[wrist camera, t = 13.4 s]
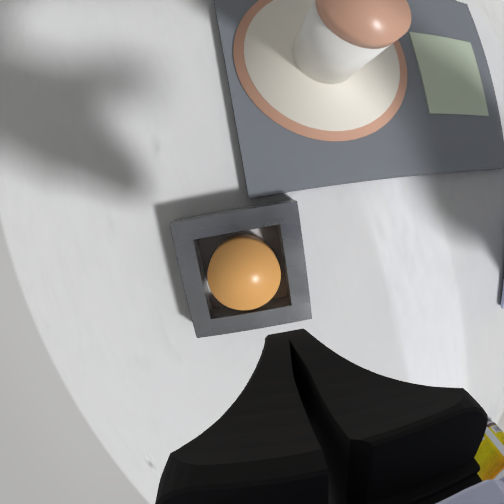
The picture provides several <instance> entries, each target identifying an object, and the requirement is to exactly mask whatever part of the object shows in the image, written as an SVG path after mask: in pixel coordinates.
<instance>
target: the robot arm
mask: <svg viewBox="0 0 504 504" xmlns="http://www.w3.org/2000/svg"><path fill="white" fill-rule="evenodd" d="M501 308H503V309H504V281H503V291H502V299H501ZM487 423H488V419H487V414H486V412H485V411H484V410H483V408H482V407H481V406H480V405H479V404H478V403H477V402H476V400H475V399H474V398H473V397H472V396H471V395H470V394H469V393H468V392H467V391H466V390H464V389H463V388H445V387H431V386H424V385H418V384H412V383H407V382H403V381H399V380H395V379H392V378H389V377H385V376H382V375H379V374H376V373H374V372H371V371H369V370H367V369H364V368H362V367H360V366H358V365H356V364H354V363H352V362H350V361H348V360H346V359H345V358H343V357H341V356H339V355H338V354H336V353H335V352H333V351H332V350H331V349H329V348H328V347H326V346H325V345H324V344H322V343H321V342H320V341H318V340H317V339H316V338H315V337H313V336H312V335H311V334H310V333H309V332H307V331H306V330H305V329H299V330H293V331H288V332H282V333H277V334H271V335H268V336H267V337H266V338H265V344H264V348H263V351H262V354H261V357H260V359H259V362H258V364H257V366H256V369H255V371H254V372H253V374H252V376H251V378H250V380H249V382H248V383H247V385H246V387H245V388H244V390H243V391H242V393H241V394H240V395H239V397H238V398H237V399H236V401H235V402H234V403H233V404H232V405H231V407H230V408H229V409H228V410H227V411H226V412H225V413H224V415H223V416H222V417H221V418H220V419H219V420H218V421H216V422H215V423H214V424H213V425H212V426H211V427H209V428H208V429H207V430H206V431H204V432H203V433H202V434H201V435H199V436H198V437H196V438H195V439H193V440H192V441H190V442H189V443H187V444H186V445H184V446H182V447H181V448H179V449H178V450H176V451H174V452H172V453H171V454H170V456H169V458H168V461H167V463H166V466H165V468H164V471H163V473H162V476H161V479H160V483H159V488H158V493H157V498H156V503H155V504H504V476H503V477H502V478H500V479H499V480H494V479H492V480H485V481H482V480H481V478H480V477H479V475H478V474H477V473H478V472H479V471H480V465H479V464H478V462H477V461H476V460H475V458H474V457H475V455H476V453H477V451H478V448H479V446H480V444H481V442H482V439H483V437H484V434H485V431H486V427H487Z"/></svg>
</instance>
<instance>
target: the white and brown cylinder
mask: <svg viewBox="0 0 504 504" xmlns="http://www.w3.org/2000/svg"><path fill="white" fill-rule="evenodd" d="M410 24H411V11H410V7H409V5H408V2H407V0H313V1H312V4H311V6H310V8H309V10H308V12H307V14H306V17H305V19H304V21H303V23H302V25H301V28H300V30H299V32H298V34H297V37H296V39H295V41H294V44H293V57H294V60H295V63H296V65H297V66H298V68H299V69H300V70H301V71H302V72H303V73H304V74H305V75H306V76H307V77H309V78H311V79H312V80H314V81H317V82H319V83H323V84H338V83H342V82H344V81H346V80H348V79H349V78H350V77H351V76H352V75H354V74H355V73H356V72H357V71H359V70H360V69H361V68H362V67H363V66H365V65H366V64H367V63H368V62H370V61H371V60H372V59H373V58H375V57H376V56H377V55H378V54H380V53H381V52H382V51H384V50H385V49H386V48H387V47H389V46H390V45H391V44H393V43H394V42H395V41H396V40H398V39H399V38H400V37H402V36H403V35H404V34H405V33H406V32H407V31H408V29H409V27H410Z"/></svg>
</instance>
